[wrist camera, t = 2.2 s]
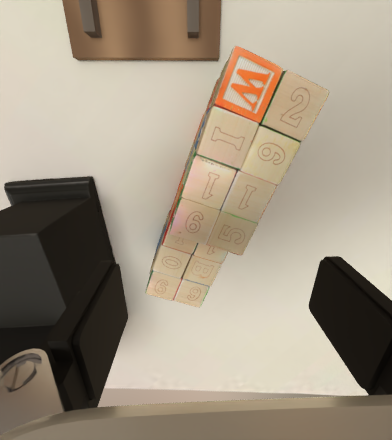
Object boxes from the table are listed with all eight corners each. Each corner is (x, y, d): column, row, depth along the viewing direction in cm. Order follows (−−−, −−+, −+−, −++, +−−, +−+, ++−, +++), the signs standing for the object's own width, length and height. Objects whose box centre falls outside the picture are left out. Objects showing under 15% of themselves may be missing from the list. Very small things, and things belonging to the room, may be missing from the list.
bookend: (7, 180, 27) (-778, 420, 5) (95, 175, 26) (-330, 395, 5) (65, 319, 36) (-123, 608, 14) (130, 315, 36) (37, 600, 14)
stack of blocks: (197, 259, 32) (200, 334, 20) (156, 246, 31) (135, 318, 19) (267, 105, 24) (335, 89, 12) (214, 81, 23) (236, 40, 11)
